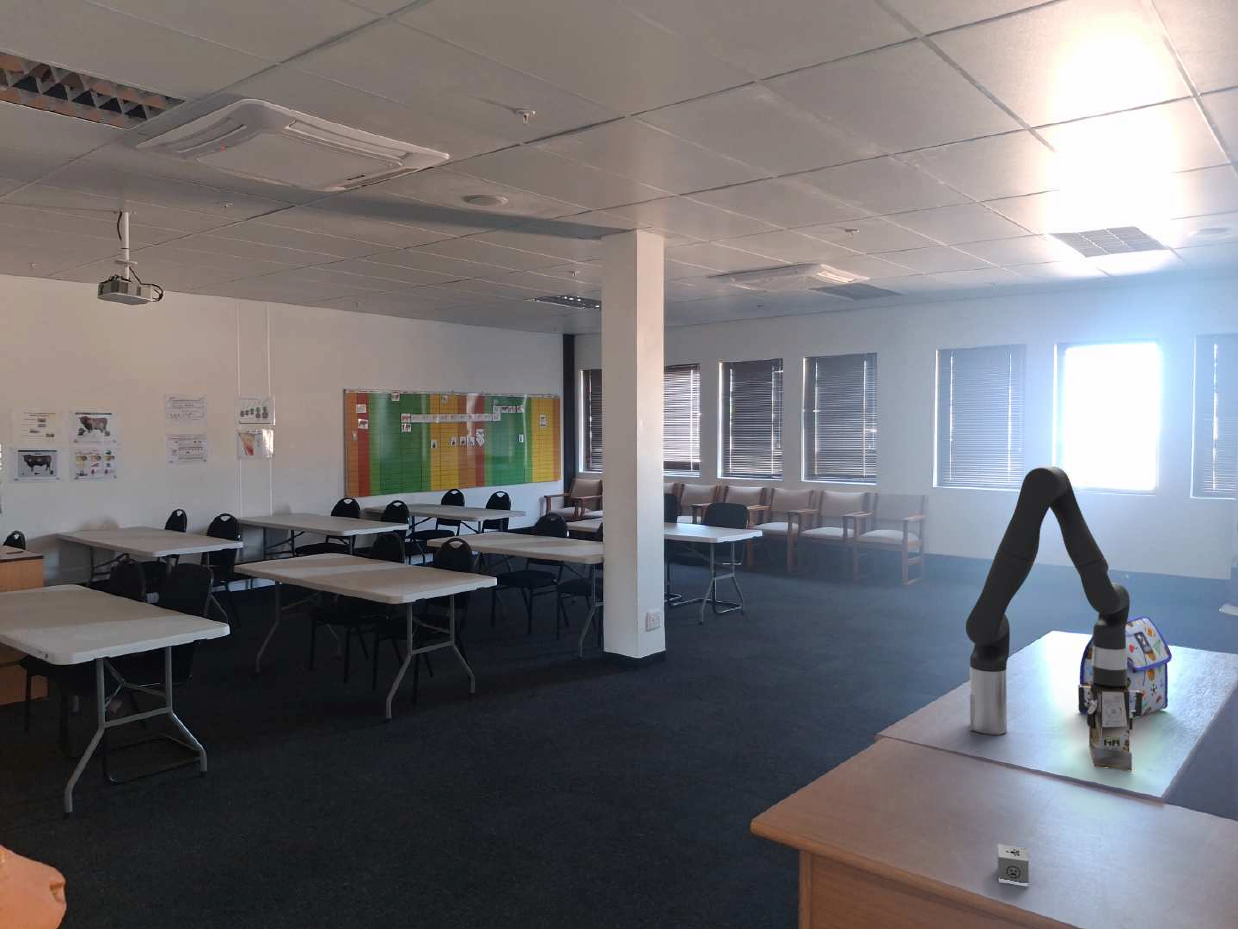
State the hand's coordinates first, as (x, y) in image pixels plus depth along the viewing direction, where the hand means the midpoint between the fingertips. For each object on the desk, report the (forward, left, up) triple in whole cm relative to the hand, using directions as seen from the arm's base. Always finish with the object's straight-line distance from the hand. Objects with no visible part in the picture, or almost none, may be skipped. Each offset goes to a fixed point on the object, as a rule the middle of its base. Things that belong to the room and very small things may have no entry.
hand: (1109, 729), depth 213 cm
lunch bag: (+7, +38, -7) cm, 39 cm away
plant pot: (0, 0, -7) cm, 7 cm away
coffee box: (0, 0, -5) cm, 5 cm away
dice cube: (-22, -69, -7) cm, 73 cm away
